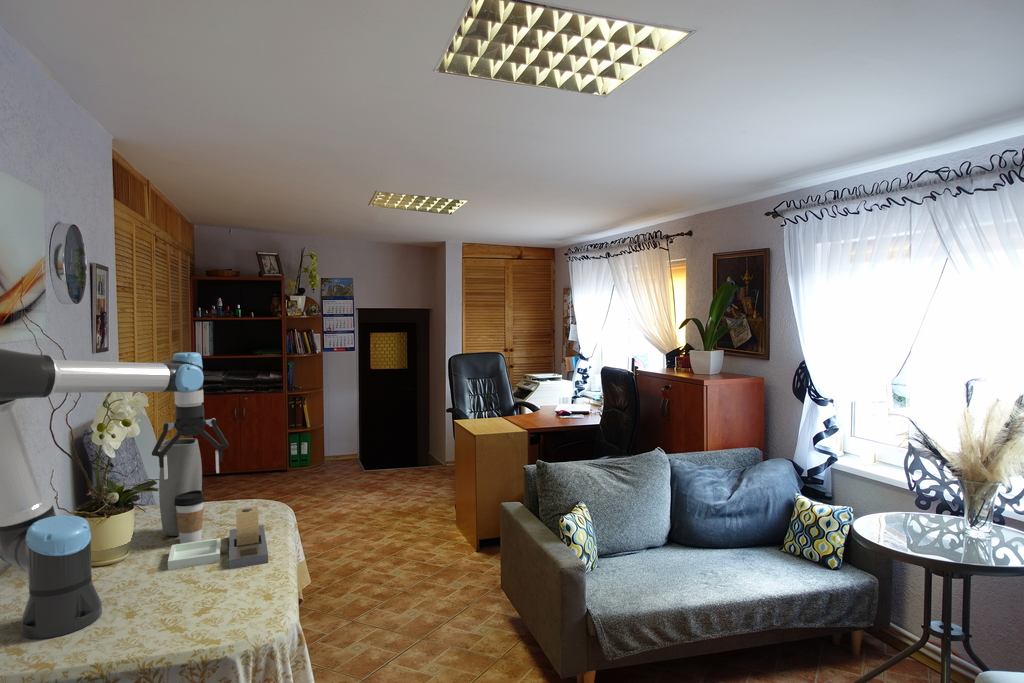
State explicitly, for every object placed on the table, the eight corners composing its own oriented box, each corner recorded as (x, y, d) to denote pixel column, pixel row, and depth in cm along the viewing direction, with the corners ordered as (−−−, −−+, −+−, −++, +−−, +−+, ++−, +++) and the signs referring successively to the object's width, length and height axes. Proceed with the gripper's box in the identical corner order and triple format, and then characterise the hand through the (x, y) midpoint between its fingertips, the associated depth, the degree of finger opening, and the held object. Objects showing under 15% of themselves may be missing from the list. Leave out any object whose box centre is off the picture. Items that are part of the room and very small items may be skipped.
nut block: (259, 551, 180) (258, 511, 180) (237, 554, 178) (236, 514, 177) (258, 544, 186) (257, 505, 185) (236, 547, 183) (235, 508, 183)
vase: (169, 527, 201) (166, 438, 199) (208, 525, 203) (206, 436, 201) (153, 541, 189) (149, 446, 187) (194, 538, 191) (191, 444, 189)
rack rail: (268, 562, 172) (268, 553, 172) (229, 569, 168) (229, 559, 168) (263, 532, 196) (263, 524, 196) (229, 537, 192) (229, 529, 191)
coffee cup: (210, 540, 189) (208, 493, 188) (181, 548, 183) (179, 499, 182) (199, 534, 195) (198, 488, 194) (171, 541, 188) (169, 494, 188)
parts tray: (220, 561, 173) (219, 553, 173) (168, 570, 167) (167, 561, 167) (220, 545, 185) (220, 537, 184) (172, 553, 179) (171, 545, 179)
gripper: (235, 399, 188) (237, 466, 189) (141, 406, 177) (144, 477, 178) (236, 402, 181) (238, 472, 183) (139, 410, 170) (142, 484, 171)
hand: (192, 475), depth 180 cm, fingers open, 13 cm apart
